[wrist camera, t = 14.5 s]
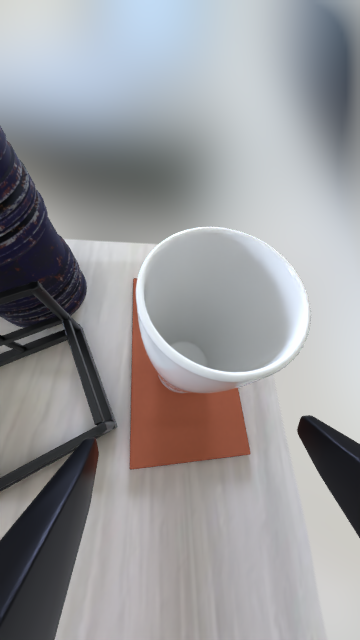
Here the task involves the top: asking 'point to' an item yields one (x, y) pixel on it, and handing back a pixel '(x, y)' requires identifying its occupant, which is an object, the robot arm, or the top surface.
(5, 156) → the dark blue oil drum
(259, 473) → the top surface
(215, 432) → the mat
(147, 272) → the white tall cup
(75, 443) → the drying rack
